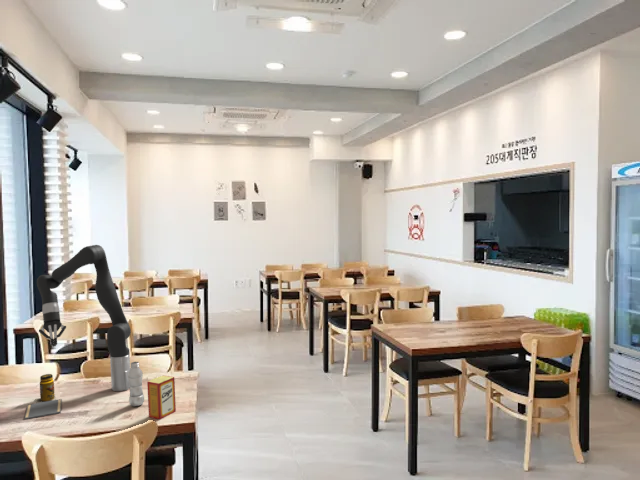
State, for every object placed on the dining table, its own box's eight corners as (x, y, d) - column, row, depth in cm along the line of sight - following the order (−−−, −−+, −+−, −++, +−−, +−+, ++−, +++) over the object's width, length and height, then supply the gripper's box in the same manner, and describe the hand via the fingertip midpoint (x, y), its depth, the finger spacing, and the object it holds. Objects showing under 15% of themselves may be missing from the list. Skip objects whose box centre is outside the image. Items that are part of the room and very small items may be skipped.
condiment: (56, 400, 236) (54, 375, 235) (36, 404, 231) (34, 379, 231) (54, 395, 242) (53, 372, 241) (35, 399, 237) (33, 375, 237)
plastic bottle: (147, 403, 229) (145, 361, 228) (137, 408, 222) (135, 365, 221) (136, 401, 231) (134, 360, 230) (126, 407, 224) (124, 364, 223)
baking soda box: (164, 409, 221) (163, 374, 220) (175, 411, 218) (174, 376, 217) (148, 417, 212) (147, 381, 212) (160, 419, 210) (158, 383, 209)
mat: (27, 405, 229) (27, 404, 229) (61, 400, 236) (61, 398, 236) (24, 419, 213) (24, 418, 213) (60, 413, 220) (60, 411, 220)
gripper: (36, 313, 245) (39, 347, 241) (65, 309, 252) (69, 342, 248) (36, 316, 252) (39, 349, 248) (65, 312, 258) (68, 344, 254)
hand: (54, 346), depth 248 cm, fingers closed
